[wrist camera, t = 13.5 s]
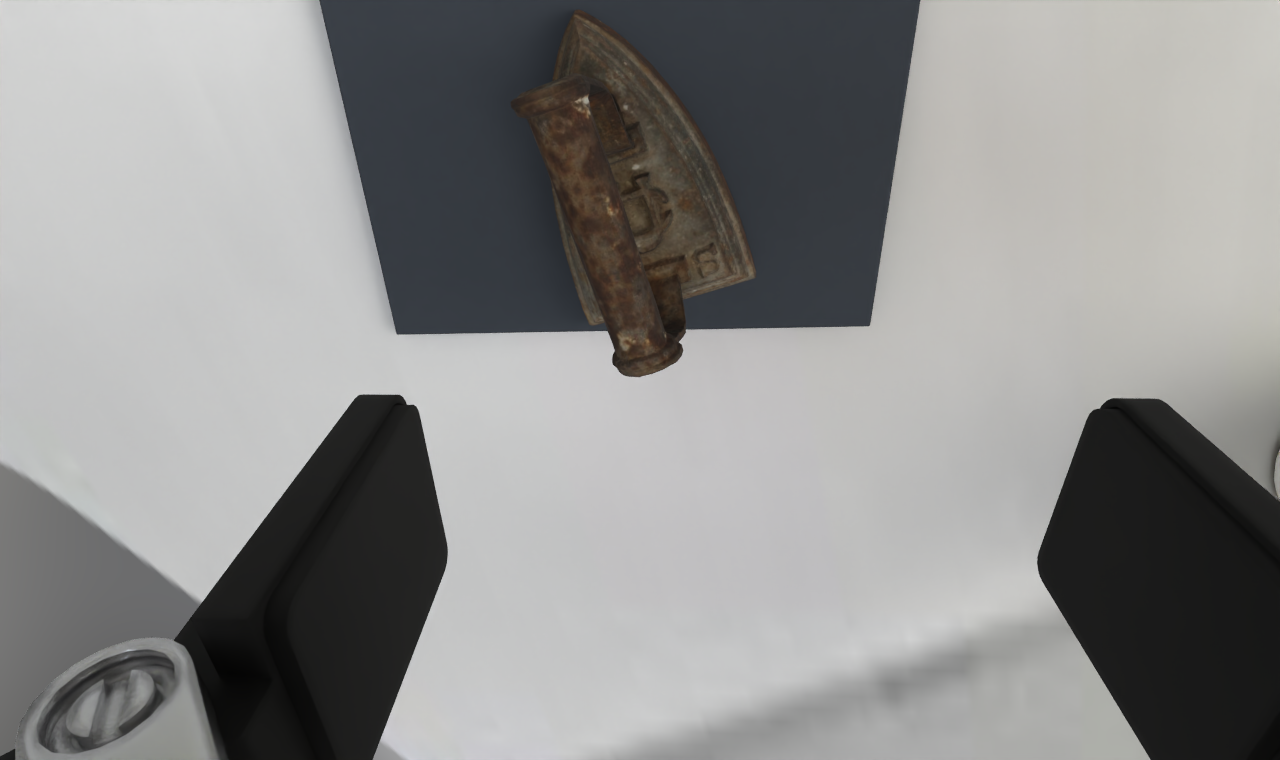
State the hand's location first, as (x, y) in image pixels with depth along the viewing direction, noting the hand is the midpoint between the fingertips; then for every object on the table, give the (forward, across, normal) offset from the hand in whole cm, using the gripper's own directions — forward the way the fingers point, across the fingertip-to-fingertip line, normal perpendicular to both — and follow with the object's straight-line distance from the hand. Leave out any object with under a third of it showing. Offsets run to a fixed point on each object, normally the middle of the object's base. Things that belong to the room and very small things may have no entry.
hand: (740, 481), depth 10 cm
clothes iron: (+18, +3, 0) cm, 19 cm away
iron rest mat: (+19, +3, 0) cm, 19 cm away
